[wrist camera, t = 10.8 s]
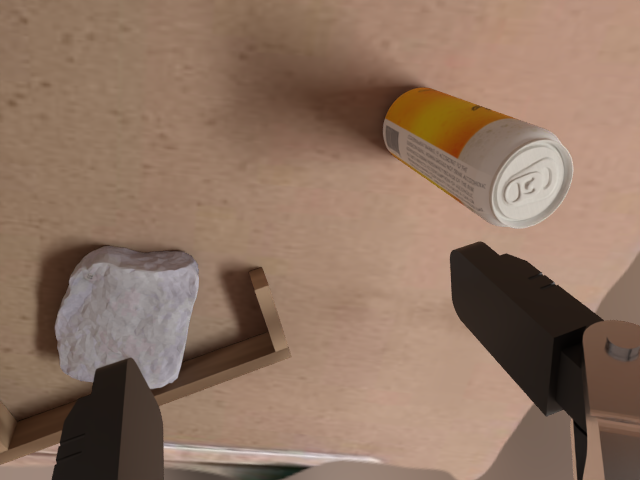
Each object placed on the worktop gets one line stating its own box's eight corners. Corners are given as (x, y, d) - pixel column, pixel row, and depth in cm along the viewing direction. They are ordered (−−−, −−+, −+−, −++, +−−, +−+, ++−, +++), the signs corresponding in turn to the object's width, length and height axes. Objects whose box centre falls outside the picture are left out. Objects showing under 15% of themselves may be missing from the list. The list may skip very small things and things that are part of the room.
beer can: (450, 143, 42) (579, 210, 29) (387, 169, 41) (491, 250, 28) (439, 74, 38) (579, 115, 26) (371, 101, 38) (479, 157, 25)
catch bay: (-44, 370, 38) (-59, 397, 35) (262, 267, 42) (268, 285, 39) (10, 436, 42) (0, 464, 39) (284, 336, 46) (291, 356, 43)
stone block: (68, 349, 42) (183, 366, 44) (44, 384, 38) (174, 403, 39) (80, 224, 38) (207, 250, 40) (56, 248, 34) (200, 276, 35)
